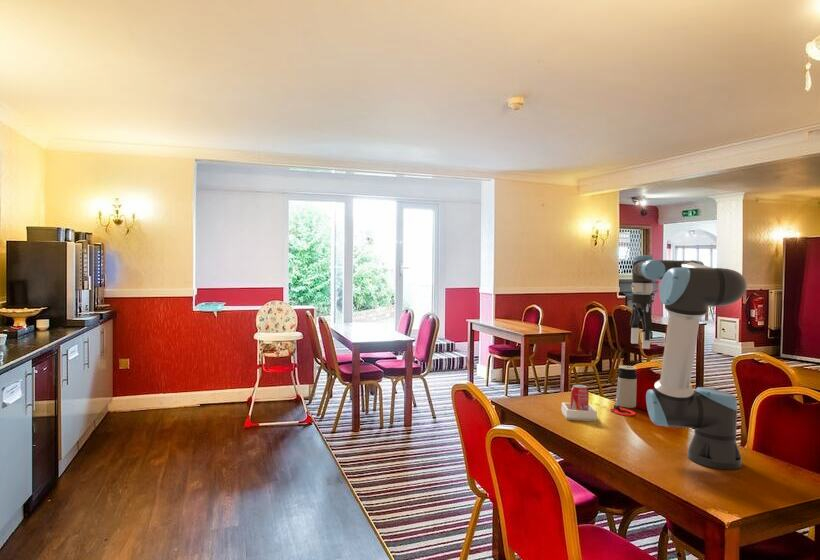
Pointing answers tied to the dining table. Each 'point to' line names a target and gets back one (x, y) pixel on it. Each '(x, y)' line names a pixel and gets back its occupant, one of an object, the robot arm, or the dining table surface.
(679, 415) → the robot arm
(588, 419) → the open white tray
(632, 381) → the travel mug
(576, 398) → the soda can
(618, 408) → the tow hook
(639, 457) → the dining table surface
